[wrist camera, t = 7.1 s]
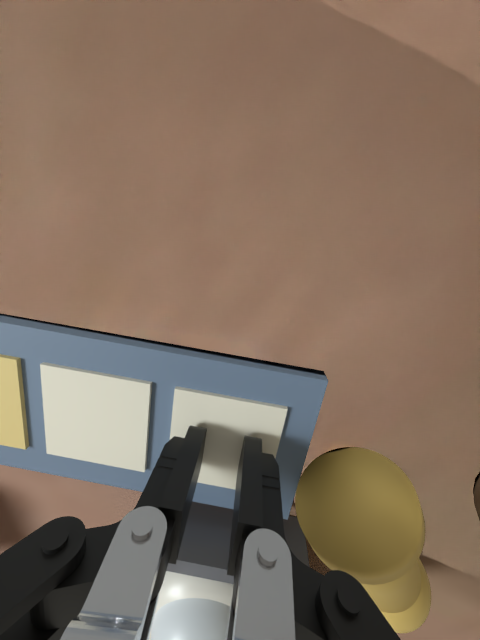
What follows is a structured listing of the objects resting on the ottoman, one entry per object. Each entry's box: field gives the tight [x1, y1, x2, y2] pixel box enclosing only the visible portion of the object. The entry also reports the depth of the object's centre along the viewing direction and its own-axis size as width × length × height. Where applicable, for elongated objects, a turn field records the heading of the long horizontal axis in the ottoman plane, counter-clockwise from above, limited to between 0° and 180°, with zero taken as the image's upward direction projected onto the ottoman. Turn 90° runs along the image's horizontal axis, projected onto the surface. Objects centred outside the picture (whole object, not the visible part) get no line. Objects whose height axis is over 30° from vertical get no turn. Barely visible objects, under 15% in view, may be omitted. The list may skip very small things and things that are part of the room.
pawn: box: [295, 447, 431, 633], centre depth 11 cm, size 4×4×7 cm
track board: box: [0, 313, 328, 520], centre depth 12 cm, size 24×8×1 cm, turn 81°
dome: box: [149, 571, 233, 640], centre depth 12 cm, size 6×6×5 cm
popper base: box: [166, 501, 310, 584], centre depth 14 cm, size 8×8×3 cm
